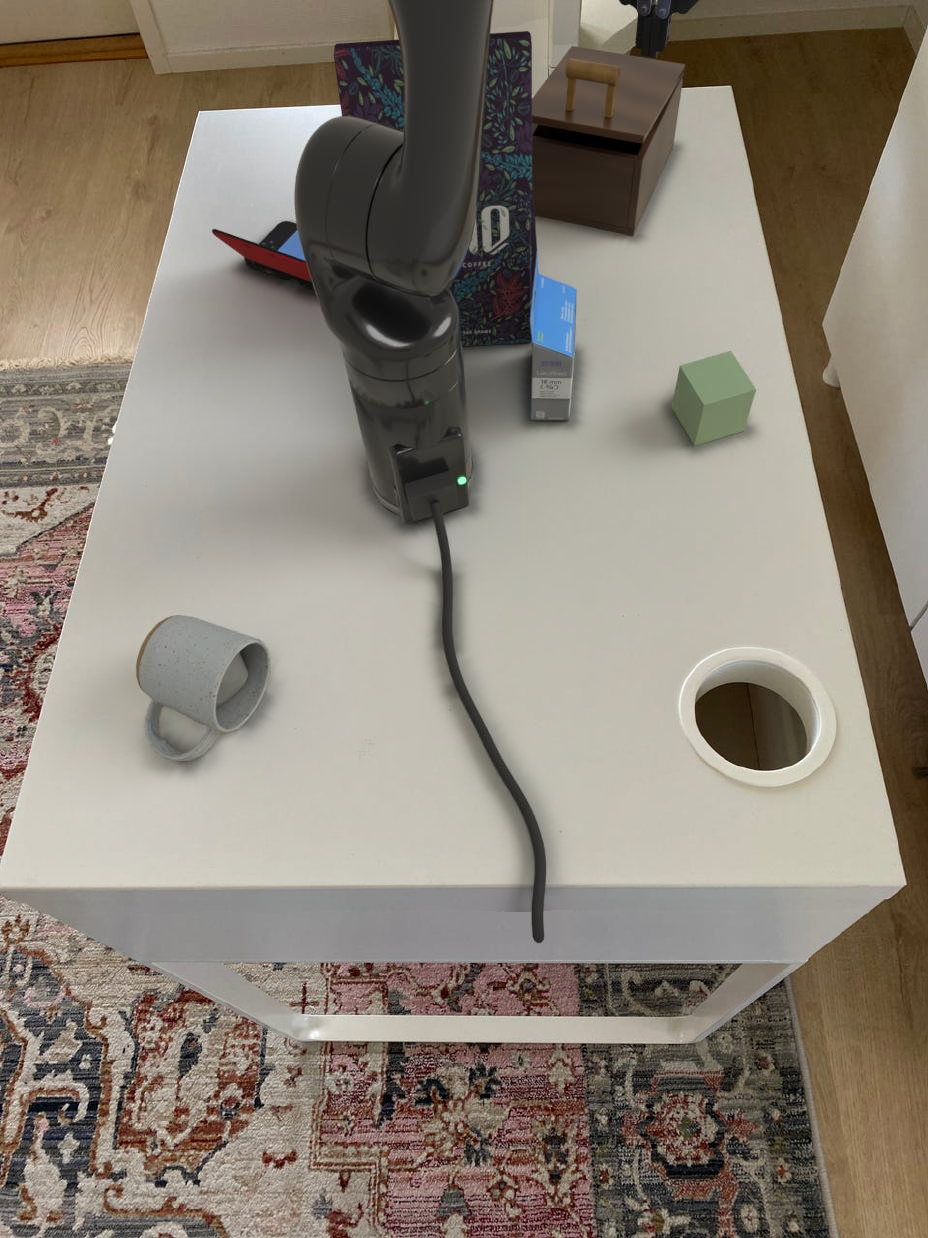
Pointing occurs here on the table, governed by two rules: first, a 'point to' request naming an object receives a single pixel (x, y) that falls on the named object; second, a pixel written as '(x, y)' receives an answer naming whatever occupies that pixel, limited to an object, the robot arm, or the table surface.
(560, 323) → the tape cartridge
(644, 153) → the chest
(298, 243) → the handheld console
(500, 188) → the coffee bag
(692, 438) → the block
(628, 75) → the lid
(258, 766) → the table surface
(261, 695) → the ceramic mug
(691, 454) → the table surface
